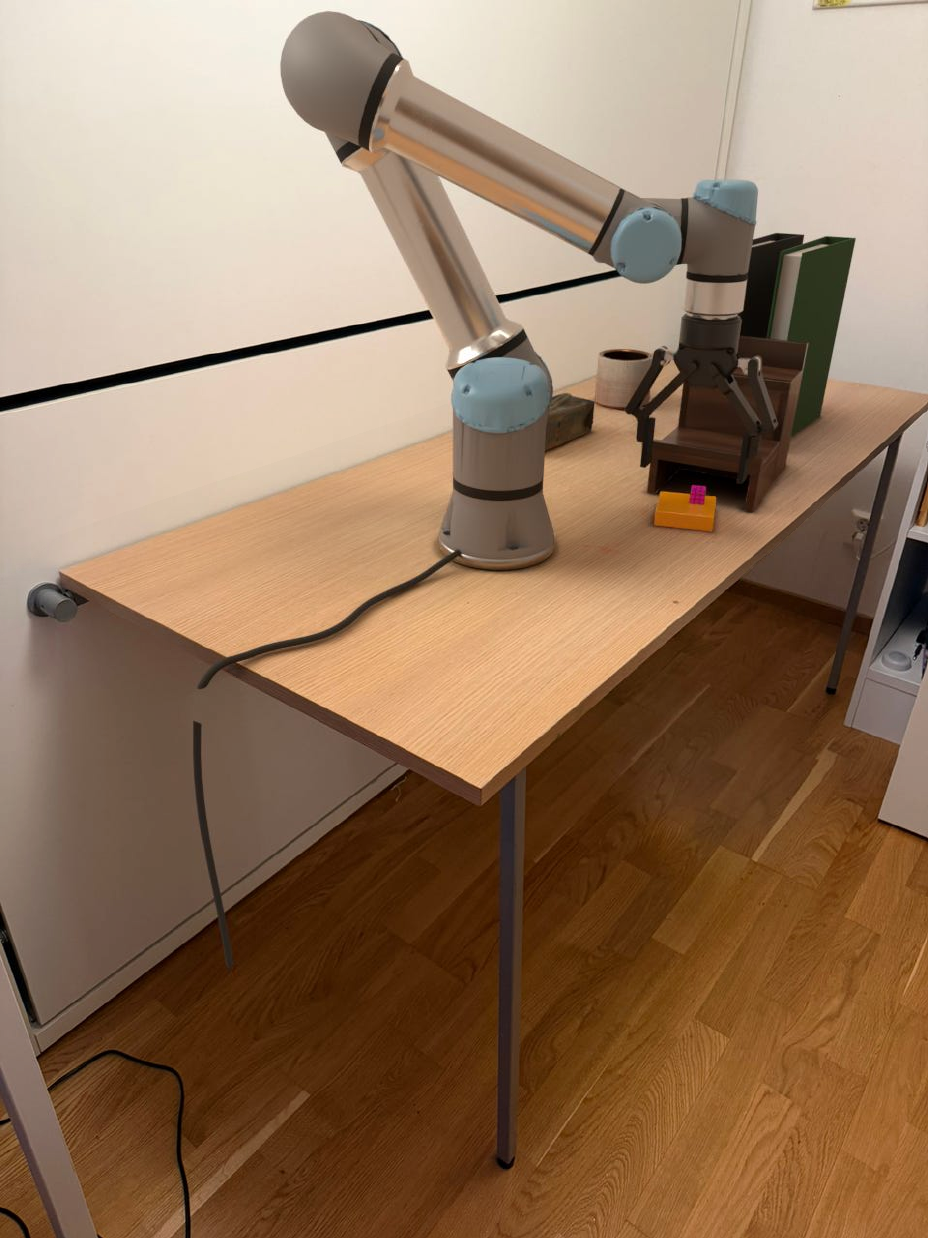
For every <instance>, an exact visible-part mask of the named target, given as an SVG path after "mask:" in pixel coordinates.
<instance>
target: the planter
mask: <svg viewBox="0 0 928 1238" xmlns="http://www.w3.org/2000/svg"><path fill="white" fill-rule="evenodd" d="M597 358H598V359H597V370H596V380H595V389H594V392H595V393H594V401H595V402H596V404H598V405H600V406H602V407H604V408H609V409H614V410H615V409H616V410H625V408H626V406H627V405H628V403H629V401H630V400H631V398H632V396H633V395H634V393H635V391H636V390H637V388H638V386H639V385H640V383H641V381H642V380H643V378H644V376H645V375H646V373H647V371H648V370H649V368H650V366H651V363H652V358H653V354H652V353H650V352H648V351H643V350H639V349H631V348H613V349H605V350H602V351H600V352H598V357H597ZM650 396H651V389H650V390H649V392H648V394H647V395H646V397H645V398H644V400H643V402H642V403H641V405H640V406H642V407H645V406H646V405H647V404H648V403H649V402H650Z"/></svg>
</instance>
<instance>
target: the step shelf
mask: <svg viewBox="0 0 928 1238" xmlns="http://www.w3.org/2000/svg"><path fill="white" fill-rule="evenodd" d="M807 348H808V342H798V341H789V340H779V339H769V338H760V337H750V336H741V335H740V337H739V344H738V355H739V358H753V357H754V356H756V355H758V356H760V357H761V358H762V371H761V373H762V376H763V379H764V382H765V385H766V388H767V392H768V395H769V398H770V401H771V404H772V407H773V410H774V413H775V416H776V419H777V422H778V426H777V428H776V429H775V430H774V431H773V432H772V433H770V434H768V433H766V434H762V436H761V442H760V448H759V453H758V455H757V457H756V458H755V459H750V461H749V467H748V474H747V478H746V479H745V481H748V485H747V492H746V499H745V505H744V512H749V513H753V512H754V511H755V510H756V509H757V507H758V506H759V504H760V502H762V500H763V498H764V497H765V496H766V494H767V493H768V492H769V490H770V489H771V487H772V485H774V483H775V481H776V480H777V479H778V477H779V476H780V475H781V473H782V472H783V470H784V469H785V467H786V465H787V459H788V454H789V448H790V444H791V438H792V437H791V433H792V428H793V423H794V417H795V412H796V407H797V402H798V396H799V391H800V386H801V380H802V375H803V370H804V364H805V359H806V354H807ZM732 376H733V377H734V379H735V380H736V382H737V385H738V387H739V389H740V390H741V392H742V394H743V395H744V397H745V398H746V400H747V401H748V403H749V404H750V406H751V407H752V409H753V411H754V412H755V414H756V415H757V417H758V418H759V420H760V421H761V418H760V415H759V412H758V409H757V406H756V403H755V400H754V397H753V394H752V391H751V388H750V385H749V382H748V375H745V374H744V373H743V370H742V369H741V368H740V367H738V368H737V369H736V370H735V371H734V372H733V373H732ZM681 391H682V392H681V400H680V406H679V416H678V423H677V427H675V428H674V429H673V430H672V431H671V432H670V433H668V434H666V436H665V437H664V438H662V439H656V438H655V439H654V440H653V450H652V460H651V463H650V464H649V469H648V479H647V488H646V493H647V494H650V495H651V494H652V495H655V494H656V493H657V492H658V491H660V489H661V488H662V487H663V486H664V485H665V484H666V483H667V482H668V481H669V480H670V479H672V477H674V475H676V474H677V473H678V472H679V470H683V471H689V472H695V473H702V474H705V475H712V476H719V477H724V478H729V479H734V480H735V479H736V480H737V476H738V469H739V463H740V456H741V449H742V442H743V436H744V435H745V434H746V433H747V432H748V430H747V428H746V427H745V425H744V424H743V422H742V421H741V419H740V417H739V416H738V414H737V413H736V411H735V410H734V408H733V407H732V405H731V404H730V402H729V400H728V399H727V397H726V396H725V395H724V394H723V393H722V392H721V390H720V389H719V387H718V388H714V389H713V390H711V389H706V388H703V387H696V388H694V387H690V385H688V384H687V383H686V382H684V383H683V384H682V390H681ZM761 423H762V421H761Z"/></svg>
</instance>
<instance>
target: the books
mask: <svg viewBox="0 0 928 1238" xmlns="http://www.w3.org/2000/svg"><path fill="white" fill-rule="evenodd" d="M804 239H805V234H799V233H784V232H775V233H771V234H768V235H767V234H766V235H763V236H759V237H757V238H753V243H752V250H751V256H750V263H749V270H748V276H747V286H746V293H745V301H744V308H743V311H742V312H741V313H739V314H738V316H740V318H741V319H742V322H741V329H740V335H741V336H750V337H760V338H769V339H779V340H789V341H798V342H808V348H807V354H806V359H805V364H804V370H803V375H802V380H801V386H800V391H799V396H798V402H797V407H796V412H795V417H794V423H793V428H792V433H791V438H792V437H794V436H795V435H797V434H798V433H799V432H801V431H802V430H804V429H806V427H808V426H810V425H811V424H812V423H814V422H815V421H816V420H818V419H820V418H821V414H822V410H823V409H822V408H823V404H824V400H825V394H826V389H827V384H828V379H829V375H830V374H829V373H830V368H831V364H832V359H833V353H834V350H835V349H834V348H835V344H836V339H837V334H838V329H839V324H840V319H841V316H842V315H841V314H842V309H843V304H844V300H845V294H846V289H847V284H848V279H849V274H850V270H851V263H852V259H853V255H854V251H855V250H854V249H855V245H856V237H848V236H846V237H845V236H831V235H825V236H822V237H819V238H815V239H813V240H810V241H807V242H804Z"/></svg>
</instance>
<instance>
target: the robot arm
mask: <svg viewBox="0 0 928 1238" xmlns="http://www.w3.org/2000/svg"><path fill="white" fill-rule="evenodd" d="M279 66H280V68H279V69H280V70H279V71H280V78H281V84H282V89H283V92H284V94H285V97H286V99H287V101H288V103H289V105H290V106H291V108H292V109H293V110H294V111H295V113H296V115H297V116H298V117H299V118H301V119H302V121H304V122H305V123H306V124H307V125H309V126H310V127H312V128H314V129H315V130H318V131H321V132H323V133H324V134H325V136H326V137H327V140H328V142H329V143H330V145H331V147H332V149H333V151H334V153H335V155H336V157H337V158H338V160H339V161H338V162H340V165H341V166H342V167H343V168H345V169H347V170H351V171H353V172H356V173H357V174H359V175H360V177H361V178H362V180H363V182H364V184H365V187H366V188H367V190H368V192H369V194H370V196H371V198H372V200H373V202H374V204H375V206H376V208H377V210H378V212H379V214H380V216H381V218H382V220H383V222H384V224H385V226H386V228H387V229H388V230H387V231H389V233H390V235H391V238H392V240H393V241H394V243H395V245H396V247H397V250H398V251H399V253H400V255H401V257H402V259H403V261H404V263H405V265H406V267H407V269H408V271H409V273H410V275H411V277H412V279H413V281H414V283H415V284H416V285H415V286H416V287H417V289H418V290H419V293H420V295H421V296H422V298H423V301H424V302H425V304H426V306H427V309H428V310H429V312H430V314H431V316H432V318H433V320H434V322H435V324H436V326H437V328H438V331H439V332H440V334H441V336H442V338H443V339H444V342H445V344H446V346H447V348H448V356H447V359H446V362H445V369H446V370H447V373H448V374H449V376H450V378H451V380H452V382H453V383H452V384H453V385H452V390H451V395H450V402H451V408H452V491H451V495H450V499H449V501H448V504H447V507H446V510H445V513H444V516H443V518H442V521H441V525H440V527H439V533H438V535H439V536H438V544H439V545H438V546H439V550H440V552H441V553H442V554H443V555H444V556H445V557H443V558H442V559H440V560H439V561H437V562H436V563H434V564H433V565H431V566H430V567H429V568H427V569H426V570H425V571H423V572H421V573H420V574H418V575H417V576H415V577H413V578H411V579H409V580H406V581H405V582H402V583H400V584H398V585H395V586H393V587H391V588H389V589H386V590H384V591H382V592H380V593H378V594H375V595H374V596H373V597H370V598H369V599H368V600H366V601H365V602H363V603H362V604H360V605H359V606H358V607H357V608H355V609H354V610H353V611H352V612H351V613H350V614H349V615H347V616H346V617H345V618H344V619H343V620H341V621H340V622H338V623H336V624H335V625H333V626H331V627H329V628H326V629H324V630H322V631H319V632H316V633H312V634H309V635H305V636H301V637H296V638H291V639H285V640H281V641H275V642H271V643H268V644H264V645H261V646H258V647H254V648H252V649H249V650H246V651H244V652H240V653H237V654H233V655H229V656H226V657H224V658H222V659H220V660H218V661H216V662H214V664H213V665H212V666H210V668H208V669H207V671H205V673H204V675H203V676H202V678H200V680H199V682H198V684H197V687H196V689H198V690H203V689H206V688H207V687H208V685H209V683H210V682H211V681H212V679H213V678H214V676H216V675H217V673H219V672H220V671H221V670H223V668H226V667H227V666H230V665H232V664H236V663H239V662H242V661H246V660H250V659H252V658H255V657H258V656H261V655H263V654H266V653H270V652H273V651H274V652H275V651H277V650H282V649H286V648H291V647H296V646H301V645H307V644H311V643H314V642H318V641H321V640H323V639H326V638H328V637H331V636H333V635H336V634H337V633H339V632H341V631H342V630H344V629H346V628H347V627H348V626H350V625H351V624H352V623H353V622H354V621H355V620H357V619H358V618H359V617H360V616H361V615H362V614H363V613H365V612H366V611H367V610H369V609H370V608H371V607H373V606H374V605H377V603H379V602H382V601H383V600H385V599H387V598H389V597H391V596H394V595H396V594H398V593H401V592H402V591H405V590H408V589H409V588H411V587H414V586H416V585H417V584H419V583H421V582H423V581H424V580H427V579H428V578H429V577H430V576H432V575H433V574H435V573H437V571H439V570H440V569H442V568H443V567H445V566H446V565H448V563H451V562H452V561H453V562H455V563H457V564H459V565H462V566H465V567H470V568H475V569H482V570H492V571H504V570H516V569H517V570H518V569H522V568H527V567H531V566H533V565H537V564H539V563H541V562H543V561H545V560H547V559H548V558H549V557H550V556H551V555H552V554H553V552H554V549H555V531H554V527H553V524H552V520H551V517H550V513H549V510H548V506H547V503H546V499H545V495H544V476H545V474H544V473H545V458H546V455H545V454H546V450H545V440H546V426H547V419H548V414H549V409H550V405H551V402H552V397H553V396H554V386H553V378H552V375H551V372H550V369H549V367H548V365H547V364H546V362H545V361H544V359H543V358H542V356H540V355H539V354H538V353H537V352H536V351H535V349H534V347H533V345H532V343H531V341H530V339H529V337H528V334H527V332H526V331H525V329H524V326H523V324H521V323H518V322H516V321H513V320H510V319H509V318H507V317H506V315H505V313H504V311H503V308H502V306H501V304H500V303H499V300H498V298H497V296H496V294H495V292H494V290H493V288H492V286H491V284H490V282H489V279H488V277H487V276H486V273H485V271H484V268H483V267H482V265H481V262H480V261H479V258H478V257H477V254H476V251H475V250H474V247H473V246H472V243H471V242H470V239H469V238H468V237H469V236H468V235H467V233H466V231H465V229H464V226H463V225H462V222H461V220H460V219H459V218H460V217H459V216H458V214H457V212H456V210H455V207H454V206H453V204H452V201H451V199H450V197H449V195H448V193H447V191H446V189H445V187H444V185H443V183H442V181H441V179H444V180H446V181H448V182H449V183H451V184H453V185H455V186H457V187H459V188H461V189H463V190H465V191H467V192H469V193H471V194H472V195H475V196H476V197H478V198H480V199H482V200H484V201H485V202H488V203H490V204H492V205H493V206H495V207H498V208H499V209H501V210H503V211H504V212H507V213H509V214H510V215H513V216H515V217H516V218H518V219H520V220H522V221H524V222H526V223H528V224H529V225H532V226H534V227H536V228H538V229H540V230H542V231H543V232H545V233H547V234H549V235H551V236H553V237H555V238H557V239H559V240H561V241H563V242H565V243H566V244H569V245H570V246H572V247H573V248H576V249H578V250H579V251H582V252H583V253H586V254H587V255H590V256H591V257H592V258H593V260H594V261H595V262H596V263H597V264H605V265H607V266H609V267H611V268H613V269H615V271H616V272H618V274H619V275H620V276H621V277H622V278H624V279H625V280H628V281H630V282H632V283H635V284H641V285H642V284H645V285H647V284H652V283H655V282H657V281H660V280H662V279H664V278H665V277H666V276H668V275H669V274H670V273H671V272H672V271H673V269H674V268H675V267H676V266H677V265H686V273H685V284H684V290H683V291H684V293H683V299H682V300H683V301H682V310H683V311H684V312H685V313H684V314H683V316H682V317H681V320H680V321H681V322H680V327H679V328H680V329H679V339H678V347H677V349H676V350H673V349H668V347H667V346H666V345H661V346H660V347H658V348H657V349H655V350H654V351H653V354H652V355H653V358H652V363H651V366H650V368H649V370H648V371H647V373H646V375H645V376H644V378H643V380H642V381H641V383H640V385H639V386H638V388H637V390H636V391H635V393H634V395H633V396H632V398H631V400H630V401H629V403H628V405H627V406H626V408H625V409H624V412H625V414H626V415H631V416H633V417H635V418H636V421H637V425H636V435H635V440H636V442H637V443H641V453H640V463H639V468H642V469H643V468H644V469H646V468H647V467H648V466H650V463H651V460H652V450H653V440H654V438H655V429H656V419H657V417H653V416H651V415H652V414H653V413H654V412H655V411H656V410H657V409H658V408H660V406H661V405H662V404H663V403H664V402H665V401H667V400H668V399H669V397H670V396H671V395H673V394H674V393H675V392H676V391H677V390H678V389H679V388H680V387H681V386H683V383H684V382H686V383H687V384H688V385H690V387H694V388H696V387H703V388H706V389H711V390H713V389H714V388H718V387H719V389H720V390H721V392H722V393H723V394H724V395H725V396H726V397H727V399H728V400H729V402H730V404H731V405H732V407H733V408H734V410H735V411H736V413H737V414H738V416H739V417H740V419H741V421H742V422H743V424H744V425H745V427H746V428H747V430H748V432H747V433H746V434H745V435H744V436H743V442H742V449H741V456H740V463H739V469H738V476H737V479H736V484H740V485H742V484H744V482H745V481H746V480H745V479H746V478H747V474H748V467H749V461H750V459H755V458H756V457H757V455H758V453H759V448H760V442H761V436H762V434H766V433H768V434H770V433H772V432H773V431H774V430H775V429H776V428H777V426H778V422H777V419H776V416H775V413H774V410H773V407H772V404H771V401H770V398H769V395H768V392H767V388H766V385H765V382H764V379H763V376H762V373H761V371H762V358H761V357H760V356H758V355H756V356H754V357H753V358H739V355H738V344H739V337H740V329H741V322H742V319H741V318H740V316H738V314H739V313H741V312H742V311H743V308H744V301H745V293H746V286H747V276H748V270H749V263H750V256H751V250H752V243H753V239H754V236H755V229H756V226H757V209H758V207H757V206H758V197H759V189H758V186H757V185H756V183H755V182H753V181H751V180H748V179H734V178H733V179H731V178H730V179H729V178H728V179H727V178H726V179H725V178H721V179H719V178H718V179H717V178H716V179H702V180H699V181H698V182H696V185H695V190H694V192H693V193H692V197H690V196H689V197H682V198H661V197H659V198H657V197H655V198H654V197H640V196H638V195H636V194H634V193H633V192H630V191H628V190H626V189H624V188H621V186H620V185H617V184H615V183H613V182H611V180H608V179H606V178H604V177H602V176H600V175H598V173H597V174H596V173H594V172H593V171H591V170H589V169H587V168H586V167H583V166H581V165H580V164H578V163H576V162H574V161H572V160H570V159H569V158H567V157H566V156H564V155H562V154H559V153H558V152H556V151H554V150H552V149H550V148H548V147H546V145H545V146H544V145H543V144H541V143H539V142H537V141H536V140H533V139H532V138H530V137H528V136H527V135H524V134H522V133H521V132H519V131H517V130H515V129H513V128H511V127H509V126H508V125H505V124H504V123H502V122H500V121H498V120H496V119H495V118H493V117H491V116H489V115H487V114H485V113H483V112H482V111H480V110H478V109H476V108H474V107H473V106H471V105H469V104H467V103H465V102H463V101H461V100H460V99H457V98H455V97H453V96H452V95H450V94H448V93H447V92H444V91H443V90H440V89H439V88H437V87H435V86H433V85H431V84H430V83H428V82H426V81H424V80H422V79H420V78H418V77H416V76H415V75H414V73H413V70H412V67H411V64H410V62H409V60H407V59H406V58H404V56H403V55H402V52H401V51H400V49H399V47H398V46H397V44H396V43H395V42H394V41H393V40H392V39H391V38H390V35H388V34H386V33H385V32H384V31H383V30H382V29H381V28H380V27H377V26H375V25H374V24H373V23H370V22H367V21H365V20H361V19H356V18H354V17H353V16H350V15H348V14H346V13H343V12H339V11H330V10H325V11H319V12H316V13H313V14H311V15H308V16H307V17H304V18H303V19H302V20H300V22H298V23H297V24H296V25H295V26H294V27H293V29H292V30H291V31H290V33H289V34H288V36H287V38H286V40H285V42H284V44H283V48H282V51H281V56H280V64H279ZM671 361H673V362H674V365H675V366H676V368H677V370H678V374H677V375H675V377H673V379H671V380H670V381H669V383H667V385H666V386H665V387H664V388H662V389H661V390H660V391H659V392H658V393H657V394H656V395H655V396H654V397H653V398H652V399H651V400H649V402H648V404H646V405H645V406H643V407H642V406H640V405H641V403H642V402H643V400H644V398H645V397H646V395H647V394H648V392H649V390H650V391H651V389H652V388H653V385H654V384H655V382H656V381H657V379H658V377H659V376H660V374H661V372H662V371H663V369H664V367H666V366H668V365H669V364H670V363H671ZM738 367H740V368H741V369H742V370H743V373H744V374H745V375H748V382H749V385H750V388H751V391H752V394H753V397H754V400H755V403H756V406H757V409H758V412H759V415H760V418H761V421H762V423H761V421H760V420H759V418H758V417H757V415H756V414H755V412H754V411H753V409H752V407H751V406H750V404H749V403H748V401H747V400H746V398H745V397H744V395H743V394H742V392H741V390H740V389H739V387H738V385H737V382H736V380H735V379H734V377H733V376H732V373H733V372H734V371H735V370H736V369H737V368H738ZM202 726H203V725H202V723H201V722H198V721H195V720H192V760H193V780H194V790H195V791H194V792H195V802H196V809H197V816H198V817H197V818H198V825H199V829H200V837H201V843H202V847H203V852H204V853H203V854H204V858H205V862H206V863H205V864H206V866H207V867H206V868H207V872H208V877H209V881H210V887H211V891H212V896H213V900H214V905H215V910H216V915H217V921H218V925H219V930H220V936H221V940H222V941H221V942H222V946H223V953H224V959H225V966H226V968H227V969H232V968H234V960H233V954H232V953H233V952H232V947H231V946H232V945H231V941H230V934H229V928H228V924H227V919H226V913H225V909H224V904H223V899H222V894H221V889H220V883H219V879H218V875H217V869H216V864H215V860H214V855H213V850H212V844H211V838H210V832H209V825H208V819H207V812H206V803H205V795H204V794H205V793H204V783H203V764H202V763H203V761H202Z"/></svg>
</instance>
